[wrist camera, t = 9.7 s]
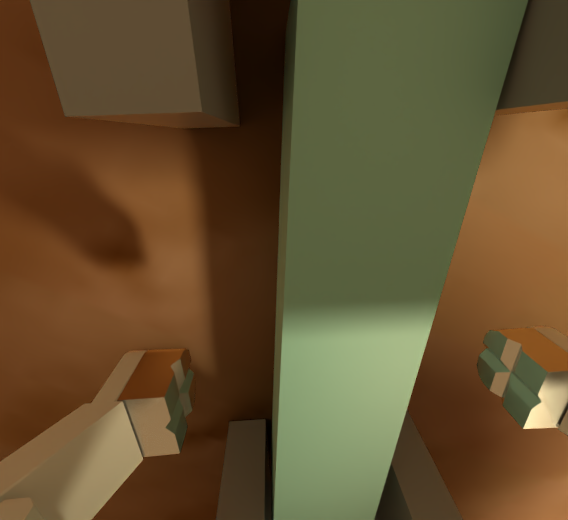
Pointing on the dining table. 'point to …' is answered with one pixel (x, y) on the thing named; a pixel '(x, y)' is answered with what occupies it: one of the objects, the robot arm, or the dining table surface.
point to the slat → (370, 225)
